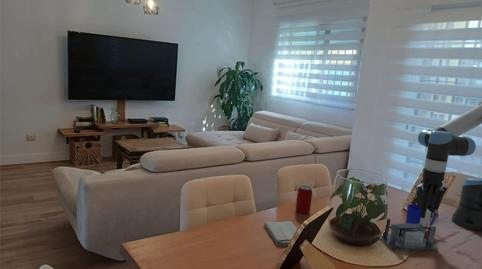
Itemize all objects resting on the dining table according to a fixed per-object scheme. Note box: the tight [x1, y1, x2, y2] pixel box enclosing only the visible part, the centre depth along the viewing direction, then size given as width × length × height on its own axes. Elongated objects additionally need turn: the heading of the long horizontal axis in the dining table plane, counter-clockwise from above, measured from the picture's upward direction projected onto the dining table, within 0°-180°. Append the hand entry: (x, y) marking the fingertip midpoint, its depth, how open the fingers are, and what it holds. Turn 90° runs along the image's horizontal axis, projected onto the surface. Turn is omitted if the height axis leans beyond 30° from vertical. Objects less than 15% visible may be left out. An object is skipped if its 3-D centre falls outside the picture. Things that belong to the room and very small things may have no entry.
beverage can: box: [295, 185, 313, 214], centre depth 166 cm, size 7×7×12 cm
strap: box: [387, 222, 431, 230], centre depth 142 cm, size 19×4×1 cm, turn 99°
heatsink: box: [380, 217, 439, 251], centre depth 143 cm, size 20×12×9 cm, turn 99°
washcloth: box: [263, 220, 298, 247], centre depth 141 cm, size 12×18×3 cm, turn 15°
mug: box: [405, 203, 437, 226], centre depth 158 cm, size 8×12×10 cm
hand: (424, 225), depth 143 cm, fingers closed, pressing on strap
